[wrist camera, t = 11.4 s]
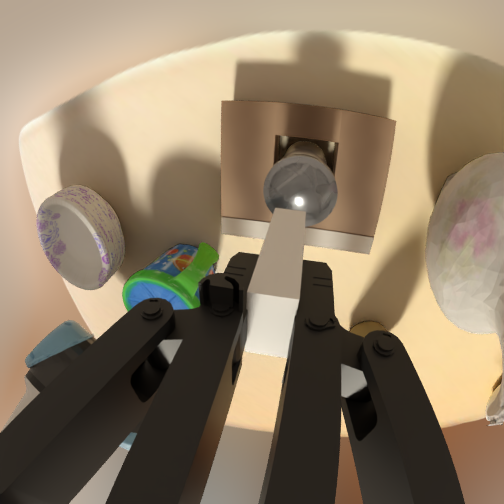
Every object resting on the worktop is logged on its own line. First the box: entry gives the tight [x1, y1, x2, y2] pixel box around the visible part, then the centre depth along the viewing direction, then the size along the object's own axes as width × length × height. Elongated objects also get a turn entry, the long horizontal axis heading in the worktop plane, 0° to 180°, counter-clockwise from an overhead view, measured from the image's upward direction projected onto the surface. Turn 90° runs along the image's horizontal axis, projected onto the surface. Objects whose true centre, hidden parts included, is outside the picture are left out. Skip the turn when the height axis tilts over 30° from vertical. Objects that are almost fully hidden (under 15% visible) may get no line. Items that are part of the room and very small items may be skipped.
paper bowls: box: [37, 185, 125, 290], centre depth 35 cm, size 15×15×8 cm
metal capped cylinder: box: [263, 141, 338, 227], centre depth 23 cm, size 5×5×11 cm
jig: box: [221, 101, 396, 254], centre depth 27 cm, size 16×14×4 cm
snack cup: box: [122, 242, 219, 311], centre depth 34 cm, size 16×10×10 cm
